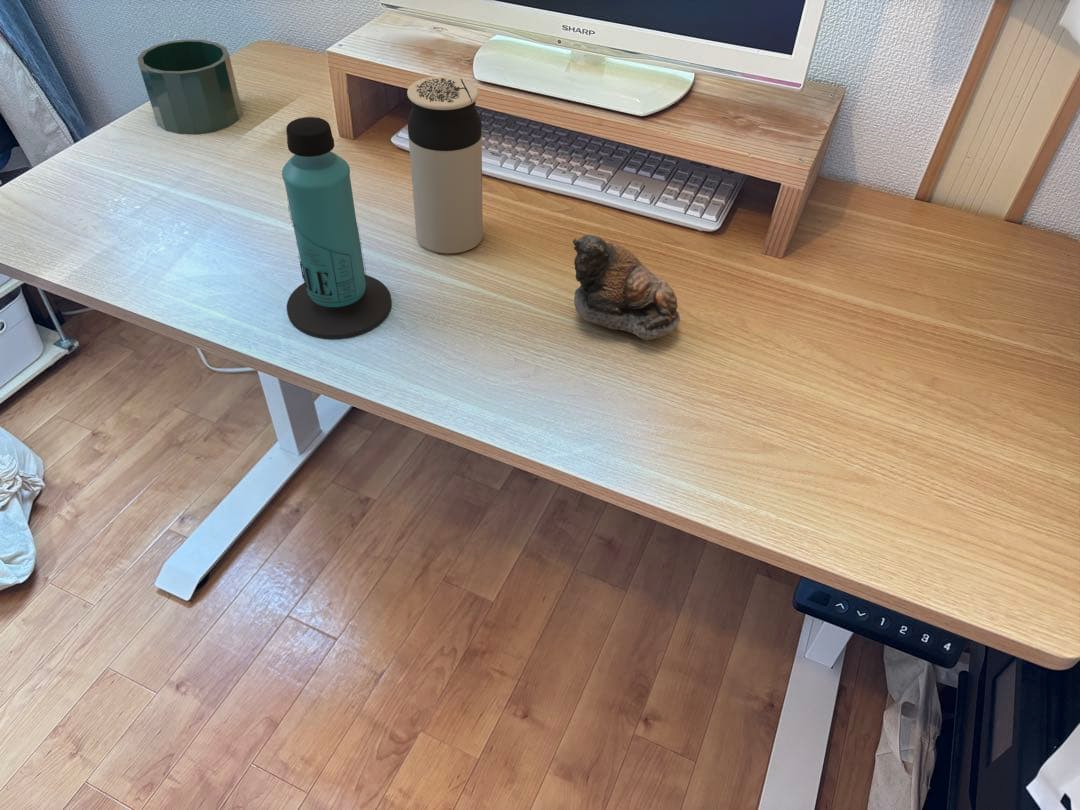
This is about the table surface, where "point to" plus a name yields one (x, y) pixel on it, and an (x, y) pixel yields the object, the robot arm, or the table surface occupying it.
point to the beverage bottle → (323, 215)
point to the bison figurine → (621, 290)
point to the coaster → (340, 312)
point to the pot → (190, 86)
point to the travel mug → (446, 163)
